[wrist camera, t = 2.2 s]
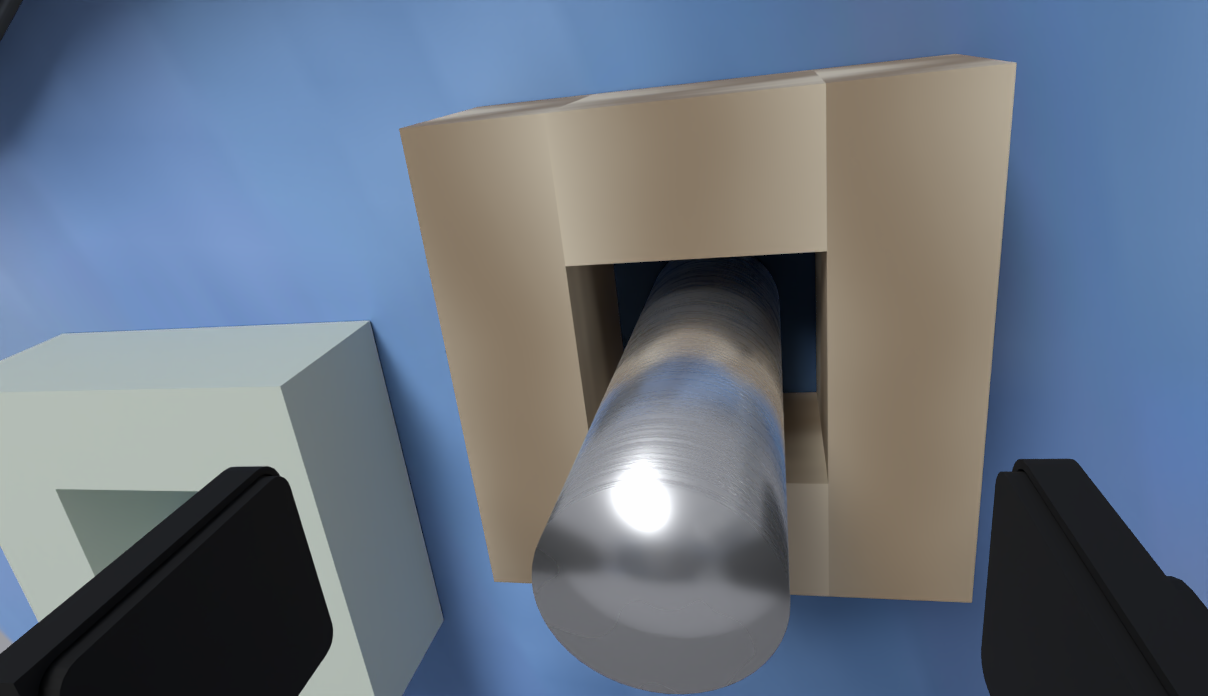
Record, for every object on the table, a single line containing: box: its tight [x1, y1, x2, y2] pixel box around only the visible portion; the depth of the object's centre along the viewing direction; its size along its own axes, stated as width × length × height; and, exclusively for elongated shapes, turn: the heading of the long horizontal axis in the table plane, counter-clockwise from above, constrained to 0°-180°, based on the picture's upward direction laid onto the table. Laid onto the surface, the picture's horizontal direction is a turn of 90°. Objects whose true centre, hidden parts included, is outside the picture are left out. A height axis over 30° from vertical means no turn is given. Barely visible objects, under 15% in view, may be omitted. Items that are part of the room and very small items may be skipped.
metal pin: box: [532, 256, 790, 694], centre depth 13 cm, size 3×3×10 cm
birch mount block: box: [399, 54, 1017, 603], centre depth 16 cm, size 10×10×4 cm
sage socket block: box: [0, 321, 444, 696], centre depth 21 cm, size 10×10×4 cm
